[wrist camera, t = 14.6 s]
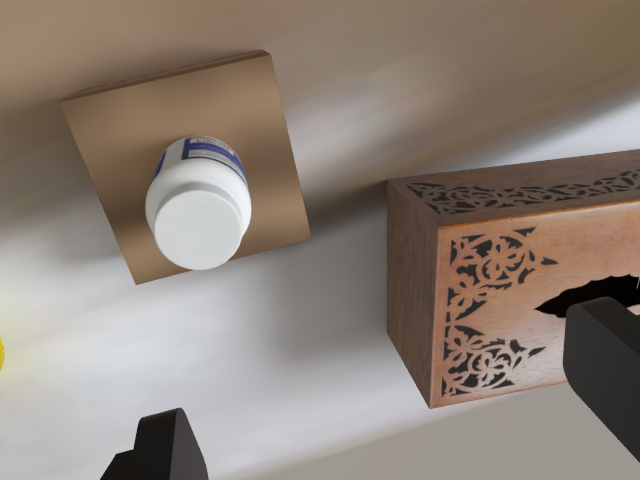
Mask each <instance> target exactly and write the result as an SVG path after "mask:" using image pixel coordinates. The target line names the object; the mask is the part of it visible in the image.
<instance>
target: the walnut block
mask: <svg viewBox="0 0 640 480" xmlns="http://www.w3.org/2000/svg"><path fill="white" fill-rule="evenodd" d="M59 104H60V106H61V109H62V111H63V113H64V116H65V118H66V121H67V123H68V125H69V128H70V130H71V132H72V135H73V137H74V139H75V142H76V144H77V147H78V149H79V151H80V154H81V156H82V158H83V161H84V163H85V166H86V168H87V170H88V173H89V175H90V177H91V180H92V182H93V185H94V187H95V189H96V192H97V194H98V196H99V199H100V201H101V203H102V206H103V208H104V211H105V213H106V215H107V218H108V220H109V222H110V225H111V227H112V230H113V232H114V234H115V237H116V239H117V241H118V244H119V246H120V249H121V251H122V253H123V256H124V258H125V260H126V263H127V265H128V267H129V270H130V272H131V275H132V277H133V279H134V282H135V284H136V285H138V284H142V283H146V282H149V281H153V280H157V279H161V278H165V277H168V276H172V275H176V274H180V273H184V272H187V271H191V270H192V269H187V268H183V267H181V266H178V265H176V264H174V263H173V262H171V261H170V260H169V259H167V258H166V257H165V256H164V255H163V254H162V252H161V251H160V249H159V248H158V246H157V244H156V241H155V238H154V234H153V232H152V231H151V229H150V227H149V224H148V221H147V218H146V211H145V203H146V196H147V192H148V189H149V186H150V183H151V180H152V177H153V175H154V172H155V169H156V166H157V163H158V161H159V159H160V157H161V156H162V154H163V153H164V151H165V150H166V149H167V148H168V147H169V146H170V145H171V144H173V143H174V142H176V141H178V140H180V139H183V138H186V137H190V136H198V135H201V136H209V137H212V138H215V139H218V140H220V141H222V142H224V143H225V144H227V145H228V146H229V147H230V148H231V149H232V150H233V151H234V152H235V153H236V154H237V156H238V157H239V159H240V161H241V163H242V166H243V169H244V173H245V177H246V181H247V185H248V190H249V194H250V199H251V219H250V223H249V225H248V228H247V230H246V232H245V234H244V235H243V237H242V239H241V242H240V245H239V247H238V249H237V251H236V252H235V253H234V255H233V256H232V257H231V258H230V259H229V260H233V259H237V258H240V257H244V256H248V255H252V254H256V253H259V252H263V251H267V250H271V249H275V248H278V247H282V246H286V245H290V244H294V243H297V242H301V241H305V240H309V239H312V238H311V233H310V229H309V224H308V220H307V215H306V211H305V206H304V202H303V197H302V193H301V188H300V184H299V179H298V175H297V170H296V166H295V161H294V157H293V152H292V148H291V143H290V139H289V135H288V130H287V126H286V121H285V117H284V112H283V108H282V103H281V99H280V94H279V90H278V85H277V81H276V76H275V72H274V67H273V63H272V58H271V55H270V54H269V53H267V52H266V51H264V50H259V51H255V52H250V53H246V54H242V55H237V56H233V57H228V58H224V59H219V60H215V61H210V62H206V63H201V64H197V65H192V66H188V67H183V68H179V69H174V70H170V71H165V72H161V73H156V74H152V75H148V76H143V77H139V78H134V79H130V80H125V81H121V82H116V83H112V84H107V85H103V86H98V87H94V88H89V89H85V90H81V91H79V92H77V93H75V94H73V95H71V96H70V97H68V98H66V99H64V100H62V101H60V102H59ZM229 260H227V261H229Z"/></svg>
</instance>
